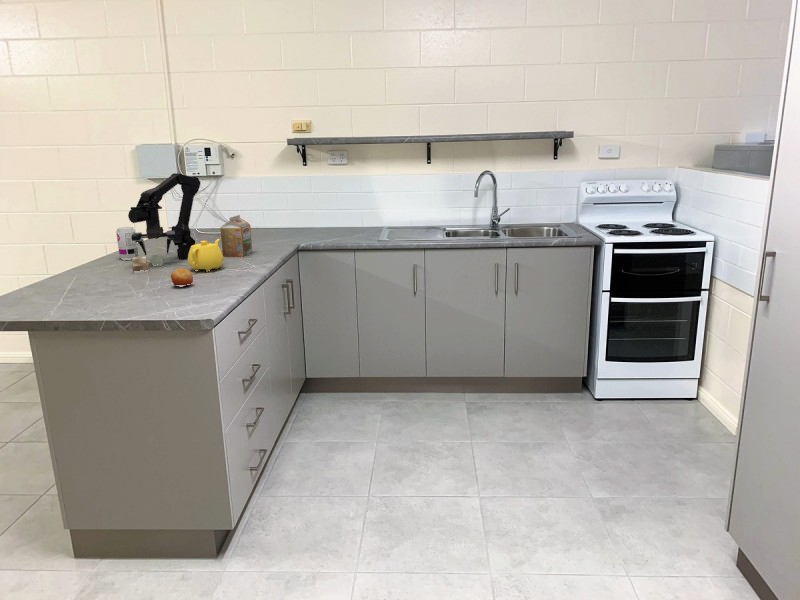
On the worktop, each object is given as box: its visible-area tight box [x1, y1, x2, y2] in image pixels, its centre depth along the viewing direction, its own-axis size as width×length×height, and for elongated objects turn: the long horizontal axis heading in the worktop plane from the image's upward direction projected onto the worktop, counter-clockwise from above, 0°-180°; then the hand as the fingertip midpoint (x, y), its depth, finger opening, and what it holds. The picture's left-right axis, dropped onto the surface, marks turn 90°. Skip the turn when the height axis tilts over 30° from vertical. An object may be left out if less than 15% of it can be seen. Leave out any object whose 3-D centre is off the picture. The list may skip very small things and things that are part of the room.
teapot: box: [187, 238, 224, 271], centre depth 266 cm, size 14×20×13 cm
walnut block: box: [131, 262, 150, 272], centre depth 264 cm, size 6×6×4 cm
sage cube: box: [150, 253, 164, 266], centre depth 278 cm, size 4×4×4 cm
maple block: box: [132, 255, 148, 266], centre depth 263 cm, size 5×5×3 cm
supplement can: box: [115, 226, 140, 258], centre depth 291 cm, size 8×8×15 cm
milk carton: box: [219, 214, 254, 258], centre depth 296 cm, size 11×11×19 cm
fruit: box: [170, 267, 194, 286], centre depth 237 cm, size 8×8×8 cm
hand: (156, 254), depth 277 cm, fingers open, 9 cm apart
